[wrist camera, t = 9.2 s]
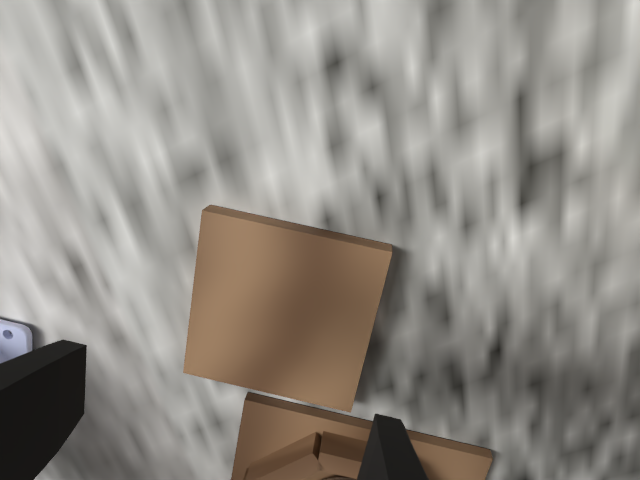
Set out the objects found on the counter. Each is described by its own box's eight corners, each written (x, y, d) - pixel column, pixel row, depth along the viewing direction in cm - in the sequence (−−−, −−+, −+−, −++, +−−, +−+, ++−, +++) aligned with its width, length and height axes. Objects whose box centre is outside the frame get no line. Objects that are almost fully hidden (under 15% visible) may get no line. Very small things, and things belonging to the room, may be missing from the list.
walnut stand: (191, 360, 23) (183, 372, 22) (210, 204, 20) (202, 210, 19) (351, 398, 22) (350, 412, 21) (391, 244, 20) (392, 252, 19)
